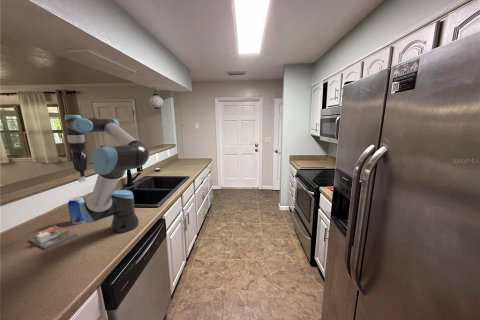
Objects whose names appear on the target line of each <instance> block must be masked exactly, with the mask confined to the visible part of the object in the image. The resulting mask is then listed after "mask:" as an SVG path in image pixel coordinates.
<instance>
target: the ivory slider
mask: <svg viewBox="0 0 480 320" xmlns="http://www.w3.org/2000/svg"><path fill="white" fill-rule="evenodd" d="M36 236H37V240H38V242H40V243H43V242H46V241H48V240H51V236H50V233H48V232H44V233H42V234H39V235H37V234H36Z"/></svg>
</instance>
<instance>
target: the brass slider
mask: <svg viewBox="0 0 480 320" xmlns="http://www.w3.org/2000/svg"><path fill="white" fill-rule="evenodd" d="M69 231H70V230H69V229H66V228H64V229H62V230H60V231H57V232H56V234H57V238H59V239H63V238H66V237H68V236H70V235H69Z"/></svg>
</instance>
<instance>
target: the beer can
mask: <svg viewBox="0 0 480 320" xmlns="http://www.w3.org/2000/svg"><path fill="white" fill-rule="evenodd" d="M85 200H86V199H84V198H83V197H82V196H75V197H71V198H69V200H68V202H67V205H68V213H69V214H68V215H69V220H70V223H71V224H73V225H78V224H79V225H80V224H82V223H86V222H85V220H84V219H83V217H82V214H81V211H80V204H81V203H83V202H86V201H85Z"/></svg>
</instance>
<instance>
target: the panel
mask: <svg viewBox="0 0 480 320" xmlns="http://www.w3.org/2000/svg"><path fill="white" fill-rule="evenodd" d="M62 229H65V228H64V227H61V226H60V227H59V230H56V231H54V232H52V233H50V236H51V240H48V241H46V242H43V243H40V242H38V240H37V235H35V236H32V237H30V238H28V240H29V242H31V243H33V244H35V245H37V246H38V247H39V248H42V249H44V250H47V249H49V248H53V247H54V246H57V245H59V244H61V243H64V242H66V241H68V240H70V239H73V238H75V237H77V236H78V233H75V232H72V231H71V230H69V235H70V236H68V237H66V238H63V239H59V238H57V234H56V232H57V231H60V230H62Z"/></svg>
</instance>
